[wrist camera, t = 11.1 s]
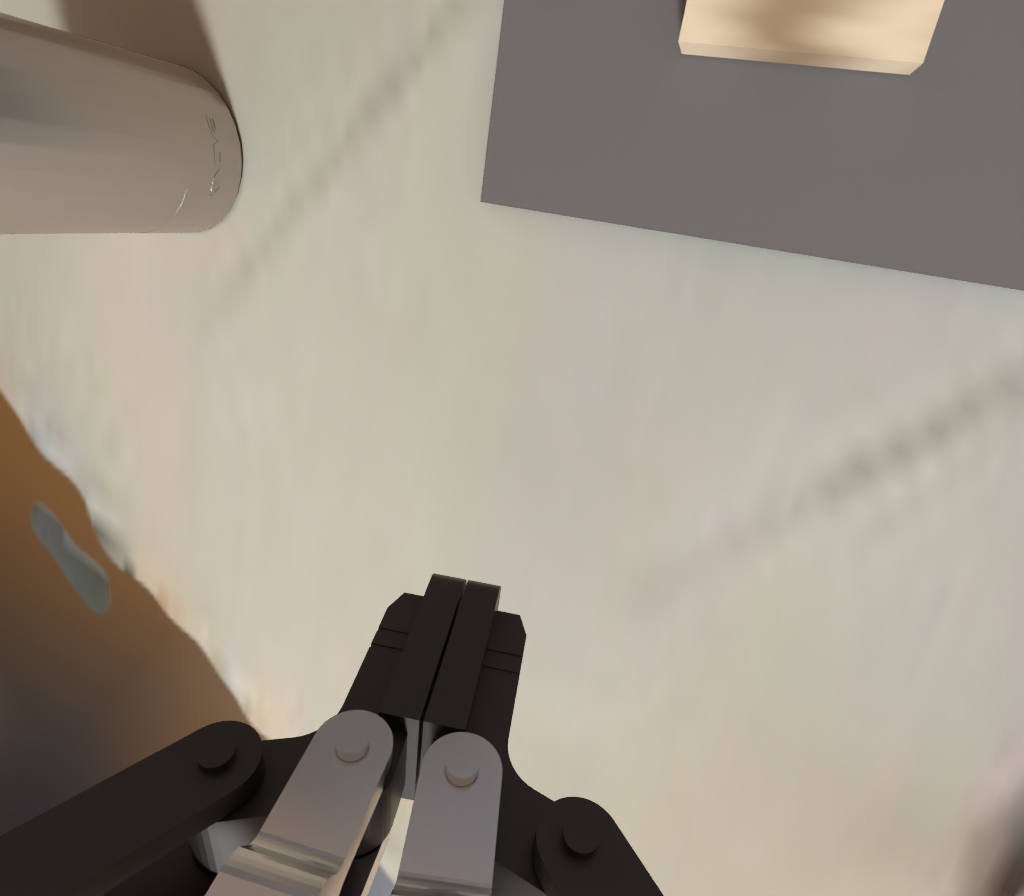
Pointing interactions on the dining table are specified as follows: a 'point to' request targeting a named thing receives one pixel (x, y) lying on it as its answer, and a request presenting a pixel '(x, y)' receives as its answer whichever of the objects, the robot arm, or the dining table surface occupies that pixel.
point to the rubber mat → (768, 138)
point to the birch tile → (813, 32)
